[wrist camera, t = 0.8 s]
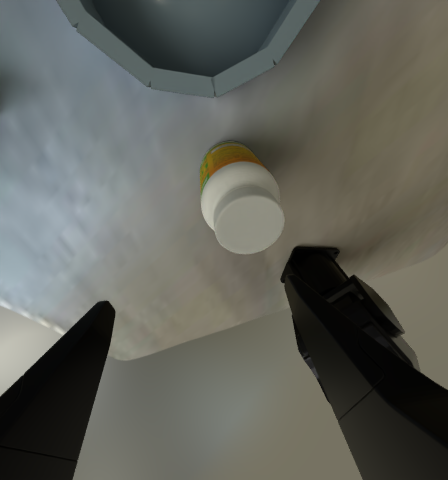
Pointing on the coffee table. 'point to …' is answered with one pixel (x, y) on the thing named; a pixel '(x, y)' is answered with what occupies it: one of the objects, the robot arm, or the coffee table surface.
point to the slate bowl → (191, 38)
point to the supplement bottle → (240, 199)
